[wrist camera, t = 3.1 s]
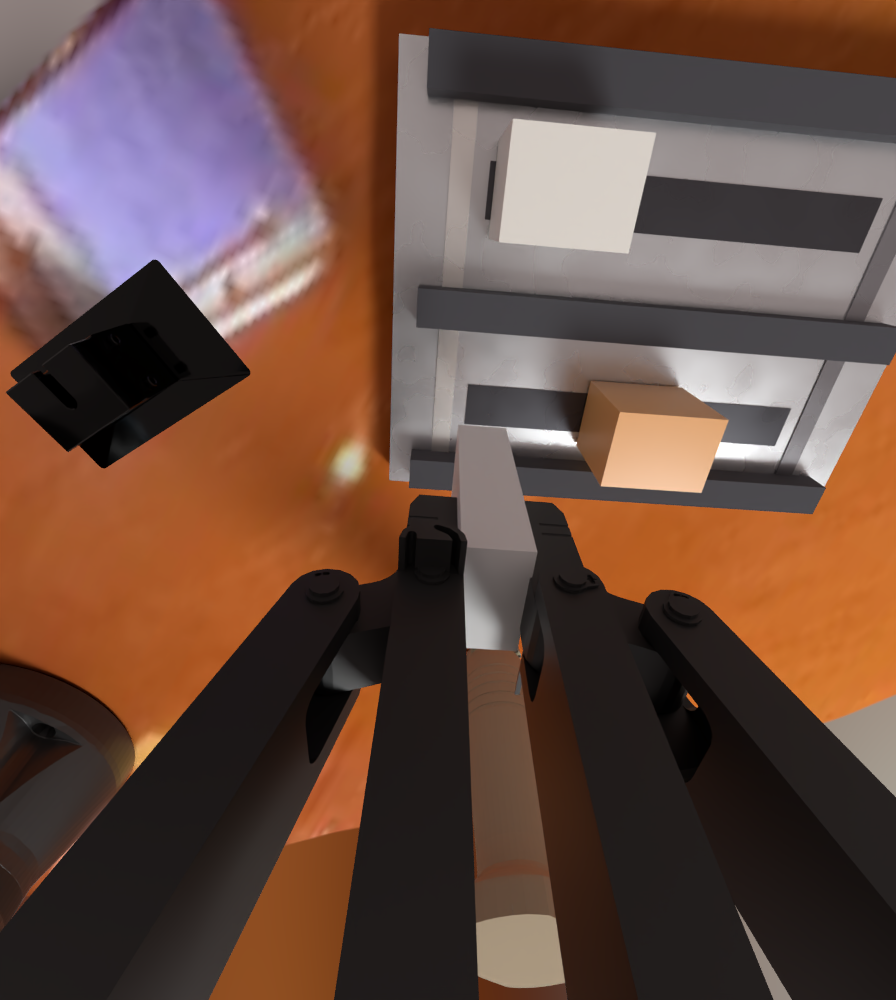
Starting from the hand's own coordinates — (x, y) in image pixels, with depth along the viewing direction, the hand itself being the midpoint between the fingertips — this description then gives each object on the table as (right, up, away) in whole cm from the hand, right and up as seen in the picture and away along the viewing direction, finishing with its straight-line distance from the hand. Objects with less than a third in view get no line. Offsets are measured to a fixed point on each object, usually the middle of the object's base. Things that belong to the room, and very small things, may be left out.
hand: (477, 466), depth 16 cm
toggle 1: (+3, +10, +2) cm, 10 cm away
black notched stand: (-16, +5, +7) cm, 18 cm away
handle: (+2, -10, +15) cm, 18 cm away
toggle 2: (+7, +3, +6) cm, 10 cm away
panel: (+7, +7, +6) cm, 12 cm away
